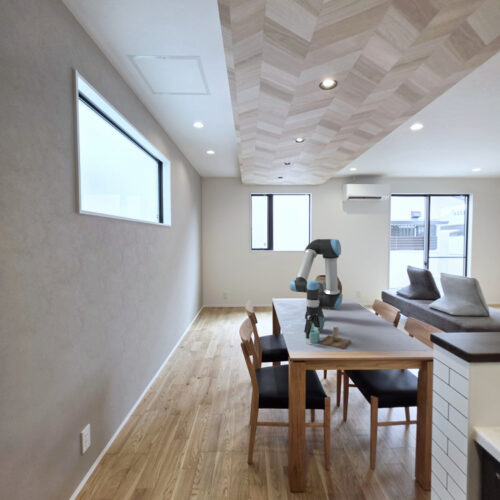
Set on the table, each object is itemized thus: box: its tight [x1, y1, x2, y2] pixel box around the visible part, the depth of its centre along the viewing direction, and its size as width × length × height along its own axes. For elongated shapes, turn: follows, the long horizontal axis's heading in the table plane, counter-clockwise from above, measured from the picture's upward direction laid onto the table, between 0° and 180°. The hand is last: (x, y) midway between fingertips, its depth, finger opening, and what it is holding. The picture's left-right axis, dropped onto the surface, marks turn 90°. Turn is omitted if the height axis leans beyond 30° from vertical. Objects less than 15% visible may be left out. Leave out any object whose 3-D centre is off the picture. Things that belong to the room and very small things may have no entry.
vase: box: [314, 274, 343, 310], centre depth 251 cm, size 26×26×30 cm
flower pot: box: [311, 317, 326, 333], centre depth 186 cm, size 9×9×9 cm
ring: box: [304, 329, 320, 344], centre depth 168 cm, size 8×8×6 cm
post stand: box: [319, 326, 351, 350], centre depth 164 cm, size 14×14×9 cm
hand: (312, 340), depth 168 cm, fingers open, 12 cm apart
